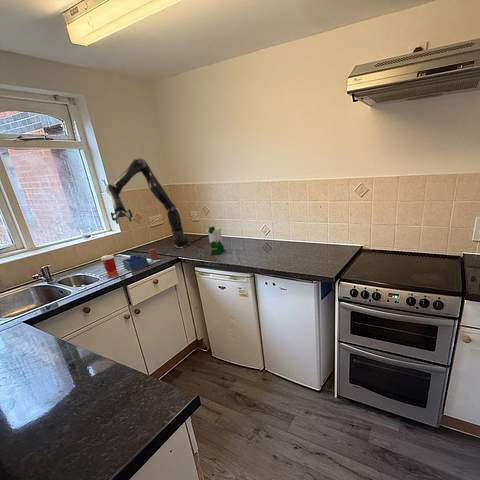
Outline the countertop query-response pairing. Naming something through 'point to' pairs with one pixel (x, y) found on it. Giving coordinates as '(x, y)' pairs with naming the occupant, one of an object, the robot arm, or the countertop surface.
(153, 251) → the terracotta skittle
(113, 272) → the beer glass
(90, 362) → the countertop surface
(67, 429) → the countertop surface
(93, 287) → the countertop surface
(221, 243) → the milk carton
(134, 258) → the blue skittle
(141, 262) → the blue bin
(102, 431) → the countertop surface
